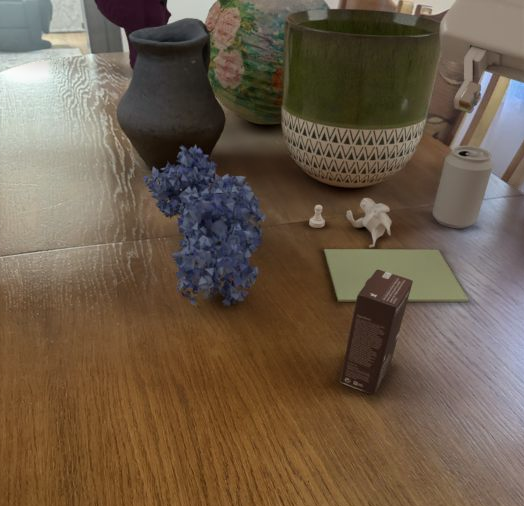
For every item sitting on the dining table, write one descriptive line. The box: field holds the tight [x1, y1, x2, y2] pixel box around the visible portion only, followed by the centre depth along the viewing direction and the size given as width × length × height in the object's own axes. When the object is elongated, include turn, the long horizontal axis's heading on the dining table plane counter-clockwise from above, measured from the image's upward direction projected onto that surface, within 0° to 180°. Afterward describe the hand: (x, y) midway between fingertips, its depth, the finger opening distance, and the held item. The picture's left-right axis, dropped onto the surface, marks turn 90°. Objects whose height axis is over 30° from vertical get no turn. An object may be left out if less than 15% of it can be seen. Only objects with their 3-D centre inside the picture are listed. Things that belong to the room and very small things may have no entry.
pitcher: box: [116, 17, 227, 174], centre depth 105 cm, size 21×22×25 cm
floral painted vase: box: [204, 0, 331, 125], centre depth 127 cm, size 32×33×30 cm
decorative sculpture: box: [143, 144, 266, 307], centre depth 78 cm, size 14×15×30 cm
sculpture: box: [93, 0, 172, 71], centre depth 160 cm, size 18×22×30 cm
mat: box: [323, 248, 469, 303], centre depth 82 cm, size 18×14×1 cm
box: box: [339, 270, 413, 396], centre depth 60 cm, size 6×4×12 cm
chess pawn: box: [308, 204, 326, 229], centre depth 93 cm, size 3×3×4 cm
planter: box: [281, 8, 443, 189], centre depth 101 cm, size 27×27×27 cm
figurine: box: [345, 197, 393, 249], centre depth 91 cm, size 6×6×12 cm
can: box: [432, 145, 494, 229], centre depth 93 cm, size 8×8×12 cm
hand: (515, 125), depth 45 cm, fingers open, 8 cm apart
